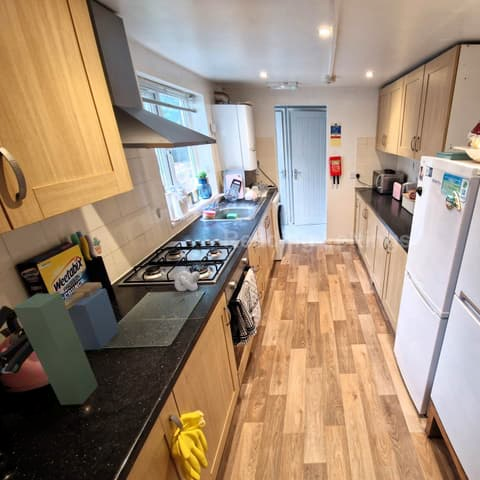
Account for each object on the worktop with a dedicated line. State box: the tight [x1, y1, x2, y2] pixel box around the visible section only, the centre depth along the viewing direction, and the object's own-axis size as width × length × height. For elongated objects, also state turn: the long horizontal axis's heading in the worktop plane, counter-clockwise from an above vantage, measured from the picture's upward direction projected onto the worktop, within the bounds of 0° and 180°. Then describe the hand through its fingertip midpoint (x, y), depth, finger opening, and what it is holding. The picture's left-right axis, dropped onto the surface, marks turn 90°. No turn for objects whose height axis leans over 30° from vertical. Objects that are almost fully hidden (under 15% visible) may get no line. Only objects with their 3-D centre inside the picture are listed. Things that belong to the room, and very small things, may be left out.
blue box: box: [63, 288, 120, 351], centre depth 95 cm, size 9×10×20 cm
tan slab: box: [64, 281, 103, 310], centre depth 88 cm, size 18×5×2 cm, turn 3°
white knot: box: [173, 270, 201, 292], centre depth 132 cm, size 11×12×9 cm
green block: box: [12, 293, 99, 406], centre depth 72 cm, size 6×6×34 cm
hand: (28, 307), depth 74 cm, fingers open, 9 cm apart
